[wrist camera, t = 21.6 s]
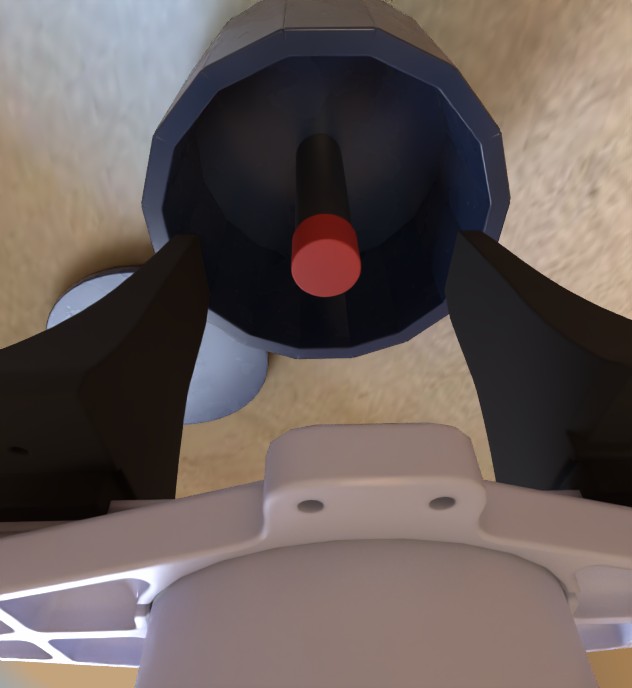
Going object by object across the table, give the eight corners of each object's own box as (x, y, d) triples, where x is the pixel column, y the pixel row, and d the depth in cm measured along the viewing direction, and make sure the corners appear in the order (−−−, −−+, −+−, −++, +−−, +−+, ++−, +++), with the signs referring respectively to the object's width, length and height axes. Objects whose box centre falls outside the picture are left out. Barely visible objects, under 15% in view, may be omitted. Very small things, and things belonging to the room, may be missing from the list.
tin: (131, 153, 19) (75, 239, 14) (321, -109, 14) (331, -109, 9) (319, 299, 24) (324, 396, 20) (507, 149, 19) (573, 232, 15)
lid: (19, 352, 27) (-20, 416, 23) (118, 212, 21) (84, 271, 18) (195, 432, 32) (183, 493, 29) (311, 340, 26) (312, 403, 23)
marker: (284, 157, 19) (276, 270, 13) (318, 120, 18) (326, 225, 12) (318, 189, 20) (325, 308, 14) (353, 156, 19) (376, 269, 13)
